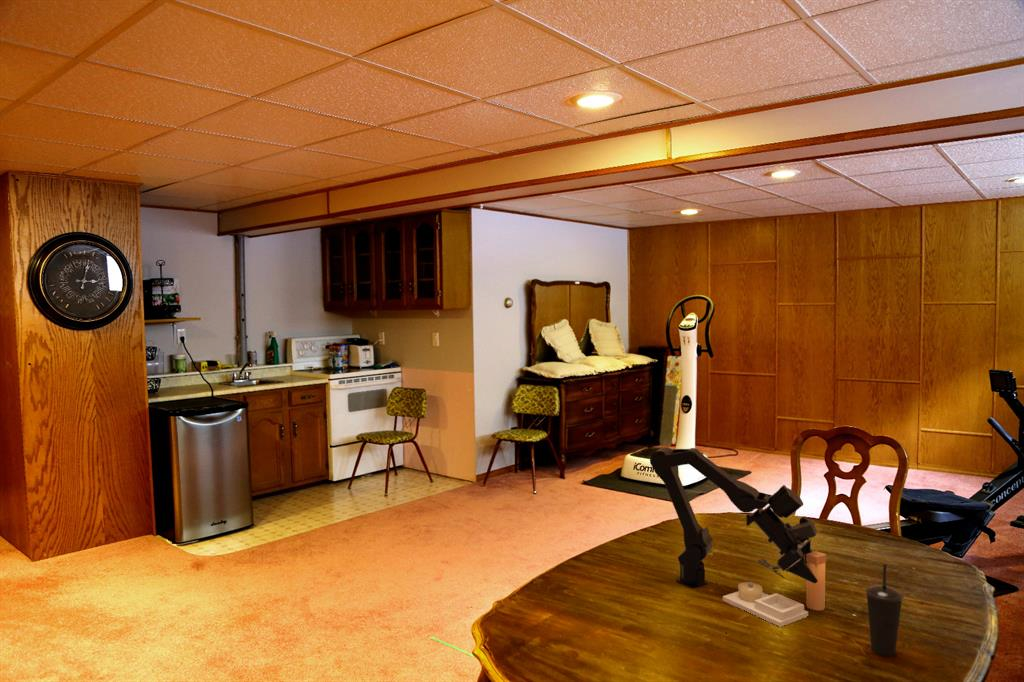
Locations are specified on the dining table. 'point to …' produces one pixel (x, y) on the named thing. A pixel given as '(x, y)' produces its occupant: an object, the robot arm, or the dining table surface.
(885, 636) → the drinking cup
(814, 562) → the orange square-topped peg
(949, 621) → the dining table surface
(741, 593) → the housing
